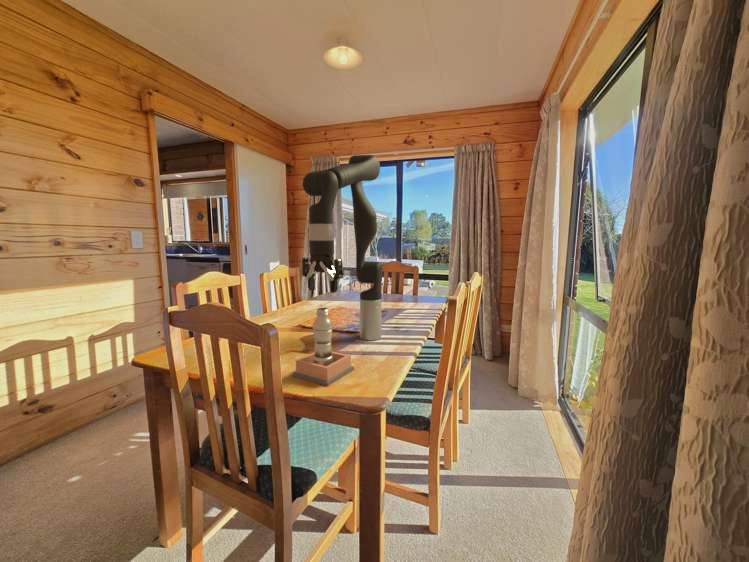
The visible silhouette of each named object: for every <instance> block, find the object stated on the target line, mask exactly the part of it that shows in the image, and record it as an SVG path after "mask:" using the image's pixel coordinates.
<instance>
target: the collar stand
mask: <svg viewBox="0 0 749 562" xmlns="http://www.w3.org/2000/svg"><path fill="white" fill-rule="evenodd" d="M332 356H333V363H332V364H330V365H328V366H324V365H319V364H315V363H313V358H314V351H313V352H311V353H309V354H307V355H305V356H303V357H301V358H299V359H296V360H295V371H294V372H292V377H294V378H295V377H296V378H299V379H301V380H305V381H309V382H312V383H316V384H319V385H323V386H326V387H329V386H330V385H332V384H334V383H335V382H337V381H338V380H340V379H342V378H343V377H345V376H346V375H348V374H350V373H352V372H353V371H355V366H352V365H351V364H352V363H351V361H352V360H351V355H349V354H346V353H341V352H336V351H332Z"/></svg>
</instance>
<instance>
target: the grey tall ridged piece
mask: <svg viewBox="0 0 749 562" xmlns="http://www.w3.org/2000/svg"><path fill="white" fill-rule="evenodd" d="M329 314H330V313H329V308H328V307H319V308H316V318H315V319H314V321H313V323H312V331H313V333H312V334H313V341H314V349H313V350H314V351H313V352H314V358H313V363H315V364H319V365H324V366H328V365H330V364H332V363H333V356H332V352H333V350H332V335H333V328H334V325H333V321H332V320H331V318H330V317H329Z"/></svg>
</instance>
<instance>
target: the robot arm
mask: <svg viewBox="0 0 749 562" xmlns="http://www.w3.org/2000/svg"><path fill="white" fill-rule="evenodd" d="M380 164H381V163H380V160H379V159H378V157H377V156H375V155H373V154H359V155H357V154H356V155H352V156H350V157H349V160H348V163H346V164H340V165H336V166H333V167H329V168H327V169H322V170H313V171H310V172H308V173H306V174H305V176H304V177H303V179H302V188H303V190H304V192H305V193H306V194H307V195H309V196H311V197H320V200H319V201H318V202H317V203H314V204H311V205H310V206H309V209H308V210H309V211H308V213H309V215H308V216H309V218H308V219H309V227H308V229H309V230H308V247H309V248H308V250H309V251H308V252H309V255H310V257H309V256H307V257H303V258H301V259H302V262H301V263H302V264H301V265H302V266H301V267H302V268H301V275H302V277H305V278H306V279H307V288H308V290H309V292H310V291H311V292H312V291H315V290H316V279H315V276H316V274H318V273H325V275H327V276H328V278H329V279H330V281H329V282H330V284H329V285H330V290H329V291H330V293H332V294H335V293H336V292H337V291H338V287H339V286H338V285H339V284H338V282H339V281H338V280H341V279H343V278H344V267H343V259H342V258H336V259H335V258H334V254H335V231H334V222H333V221H334V218H333V216H334V215H333V214H334V212H333V211H334V207H335V203H336V200H337V199H336V198H337V195H338V190H341V189H343V188H346V187H348V186H350V190H351V191H350V193H351V198H352V209H353V212H352V213H353V214H352V215H353V228H354V230H353V231H354V241H355V271H356V273H355V274H356V280H357V281H358V283H361V284H373V286H372V287H371V288H369V289H365V290H363V291H361V292H360V293H359V338H360V339H361V340H363V341H378V340H380V339H381V338H382V332H383V331H382V325H383V324H382V323H383V322H382V321H383V316H382V287H383V286H382V283H383V264H382V263H381V262H380V261H373V260H372V261H370V260H367V261H366V259H365V257H366V253H367V251H368V249H369V246H370V245H371V243H372V242H373V240H374V238H375V237H376V234H377V232H378V221H377V218H378V217H377V214H376V213H377V212H376V211H375V209H374V207H373V205H372V204H371V202H370V201H369V199H368V198H367V195H366V194H365V191H364V186H363V182H367V181H368V182H370V181H374V180H377V178H378V177H379V175H380V172H381V165H380Z"/></svg>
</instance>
